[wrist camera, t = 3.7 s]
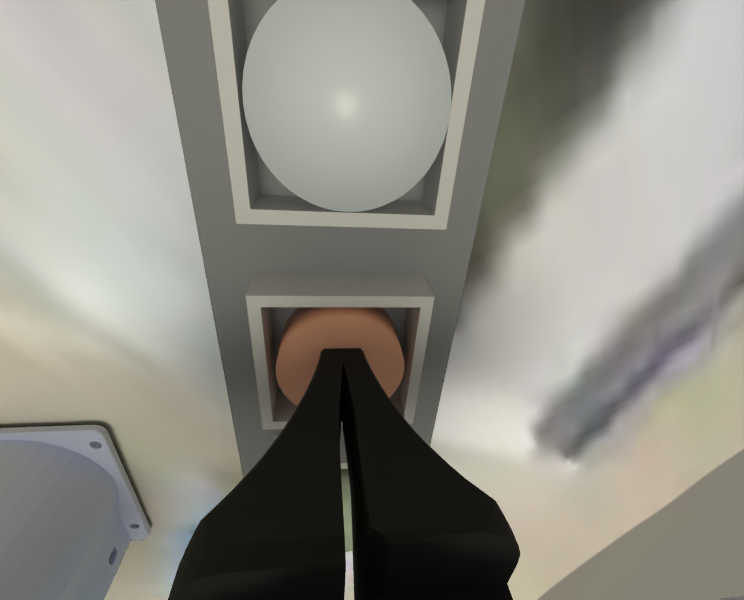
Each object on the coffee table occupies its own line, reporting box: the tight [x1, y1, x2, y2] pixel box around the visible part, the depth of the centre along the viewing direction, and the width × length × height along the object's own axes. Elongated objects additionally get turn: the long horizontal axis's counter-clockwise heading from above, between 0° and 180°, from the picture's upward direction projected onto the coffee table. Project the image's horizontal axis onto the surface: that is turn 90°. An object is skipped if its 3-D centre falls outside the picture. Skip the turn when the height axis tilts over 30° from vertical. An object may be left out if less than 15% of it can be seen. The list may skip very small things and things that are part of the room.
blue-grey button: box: [242, 0, 451, 212], centre depth 8 cm, size 4×4×2 cm
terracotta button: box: [276, 307, 404, 406], centre depth 13 cm, size 4×4×2 cm
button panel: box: [155, 0, 525, 478], centre depth 14 cm, size 24×9×4 cm, turn 176°
